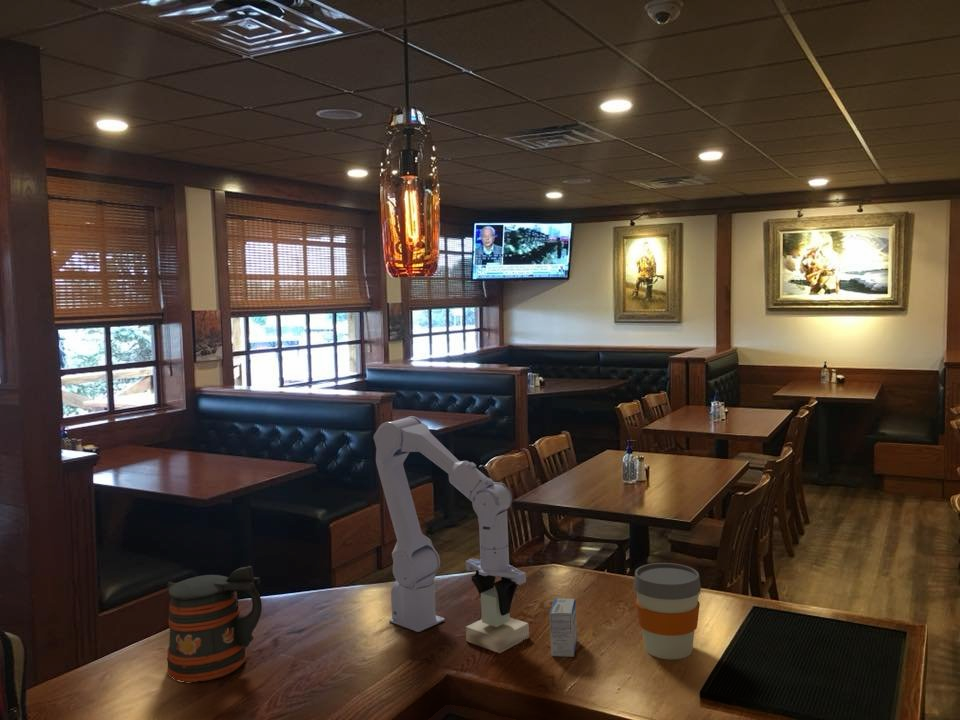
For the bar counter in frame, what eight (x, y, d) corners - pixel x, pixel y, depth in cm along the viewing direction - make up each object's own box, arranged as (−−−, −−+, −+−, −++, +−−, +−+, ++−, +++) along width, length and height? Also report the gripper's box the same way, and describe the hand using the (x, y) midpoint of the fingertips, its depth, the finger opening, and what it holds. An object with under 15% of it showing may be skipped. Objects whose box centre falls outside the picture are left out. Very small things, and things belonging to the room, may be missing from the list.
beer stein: (279, 648, 161) (273, 552, 159) (254, 683, 146) (247, 577, 145) (187, 649, 162) (180, 553, 160) (153, 684, 147) (146, 579, 146)
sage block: (481, 622, 160) (480, 593, 160) (495, 615, 163) (493, 587, 163) (496, 627, 158) (495, 597, 157) (509, 620, 160) (508, 591, 160)
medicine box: (574, 658, 152) (572, 613, 151) (550, 656, 152) (549, 612, 152) (577, 640, 159) (576, 598, 159) (555, 639, 160) (553, 597, 159)
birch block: (466, 641, 161) (465, 626, 161) (495, 626, 167) (495, 612, 167) (499, 653, 155) (499, 638, 154) (529, 637, 161) (528, 623, 161)
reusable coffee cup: (706, 640, 157) (705, 566, 156) (695, 668, 145) (694, 588, 144) (643, 631, 162) (641, 559, 161) (628, 657, 151) (626, 580, 150)
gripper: (454, 543, 161) (457, 608, 163) (508, 557, 152) (511, 626, 153) (478, 535, 167) (480, 598, 168) (531, 547, 157) (534, 614, 158)
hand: (496, 611), depth 161 cm, fingers closed on sage block, 4 cm apart
